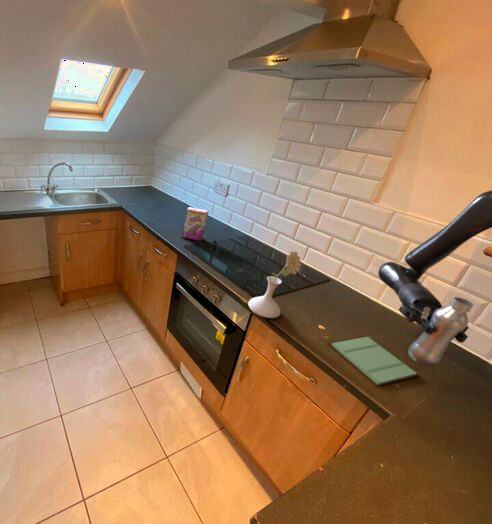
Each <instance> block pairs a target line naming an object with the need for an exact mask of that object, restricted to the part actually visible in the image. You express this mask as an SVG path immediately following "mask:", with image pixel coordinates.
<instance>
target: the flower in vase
mask: <svg viewBox="0 0 492 524" xmlns="http://www.w3.org/2000/svg"><path fill="white" fill-rule="evenodd" d="M301 262H302V261H301V256H299V254H298V252H297V251H294V250H291V251H290V252H289V254H287V257H286V261H285V263H286V264H285V265H284V267H283V268H282V269H281V270H280V272H278V274H277V273H275V272H271V275H269V276H267V277H266V280H267V289H266V291H265V293H264V295H260V296H255V297H252V298H250V299H249V301H248V302H247V304H248V305H247V306H248V307H249V309H250V311H252V312H253V314H255V315H257V316H259V317H261V318H264V319H265V318H266V319H276V318H278V317H279V316H280V315H281V308H280V307H279V304H277V303H276V301H275V300H274V299H273V295H274V292H275V290H276V289H277V287H278V286H279V285H281V284H283V281H282V280H281V278H279V277H280V275H281V274H282V276H283V277H288V276H289V275H290V274H291V275H297V273H299V272H300V269H301V266H302V263H301Z"/></svg>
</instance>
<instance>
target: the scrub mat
mask: <svg viewBox="0 0 492 524" xmlns="http://www.w3.org/2000/svg"><path fill="white" fill-rule="evenodd" d="M331 347H333V348H334V349H335V350H336V351H337V352H338V353H339V354H340V355H342V356H343V357H344V358H345V359H347V360H348V362H350V363H351V364H352V365H354V366H355V367H356V368H357V369H358V370H359V371H361V372H362V373H363V374H364V375H365V376H367V377H368V378H369V379H370V380H371V381H372V382H373V383H374V384H375V385H377V386H380V385H385V384H389V383H392V382H396V381H401V380H403V379H404V380H405V379H409V378H412V377H415V376H416V375H417V374H418V373H417V372H416V371H415V370H414V369H412V368H410V367H409V365H407V364H406V363H404V362H403V361H401V360H400V359H399V358H397V357H396V356H395V355H393V354H392V353H390V352H389V351H388V350H386V349H385V348H384V347H383V346H381V345H380V344H378V342H375V341H374V340H373V339H372V338H370V337H369V336H364V337H358V338H352V339H348V340H342V341H335V342H332V343H331Z"/></svg>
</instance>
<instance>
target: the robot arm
mask: <svg viewBox="0 0 492 524" xmlns="http://www.w3.org/2000/svg"><path fill="white" fill-rule="evenodd" d="M490 229H492V189H490V190H487V191H484V192H481V194H479V195H477V196H476V198H474V199H473V200H472V201H471V202H470V203H469V204H468V205H467V206H466V207H465V208H464V209H463V210H462V211H461V212H460V213H459V214H458V215H457V216H456V217H455V218H453V220H451V221H450V222H449V223H448V224H447V225H446V226H444V227H442V229H440V230H439V231H437V232H436V233H435V234H433V235H432V236H430V237H429V238H427V239H426V240H425V241H423V242H422V243H420V244H419V245H417V246H416V247H415V248H414V249H412V250H410V251H409V252H408V253H407V254H406V255H405V256H404V261H405V263H406V265H408V266H409V268H408V267H406V266H405V265H402V264H400V263H397V262H395V261H388V262H387V261H386V262H385V263H383V264H381V265H380V266H379V268H378V271H377V273H378V274H377V275H378V277H379V279H380V280H381V282H382V283H384V284H385V285H386V286H387V287H388V288H390V289H391V290H392V291H393V292H394V293H395V294H396V296H397V297H398V300H399V301H400V303H401V304H400V306H399V308H398V311H399V312H400V314H401V315H402V316H403V317H404V318H405V319H406V320H407V321H408V322H410V323H415V324H416V325H417V326H419V327H420V328H421V329H422V330H423V332H424V331H425V332H426V333H427V334H432V333H433V331H434V330H435V328H434V326H433V325H432V324H431V323H430V320H431V318H432V316H433V314H434V312H435V311H436V310H437V309H439V308H442V307H443V305H442V303H441V302H440V300H439V299H438V298H437V297H436V296H435V295H434V294H433V293H432V292H431V291H430V290H429V289H428V288H427V287H425V286H424V285H423V284H422V283H421V281H420V279H421V278H422V277H423V275H424V274H425V273H426V272H427V271H428V270H430V269H431V268H432V267H434V266H436V265H437V264H438V263H440V262H442V261H443V260H445V259H446V258H448V257H449V256H450V255H452V254H453V253H454V252H455V251H457V249H458V248H460V247H461V246H462V245H463V244H465V243H466V242H467V241H469V240H470V239H472V238H474V237H475V236H477V235H480V234H481V233H482V232H483V233H484V232H485V231H487V230H490ZM469 329H470V327H469V326H468V325H467V327H466V328H465V329H464V330H463V331H461V332H460V333H459V334H458V335H457V336H456V337H455V338H454V339H455V340H456V341H457V343H461V344H464V342H465V341H466V340H467V339H468V338H469V336H468V335H467V334H466V332H467V331H468V330H469Z"/></svg>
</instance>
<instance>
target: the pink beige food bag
mask: <svg viewBox="0 0 492 524" xmlns="http://www.w3.org/2000/svg"><path fill="white" fill-rule="evenodd" d="M209 211H210V210H206V209H201V208H196V207H190V206H188V207H187V209H186V214H185V219H184V225H183V230H182V235H181V238H184V239H187V240H188V239H189V240H194V241H197V242H202V240H203V237H204V232H205V228H206V225H207V221H208V216H209Z"/></svg>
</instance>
